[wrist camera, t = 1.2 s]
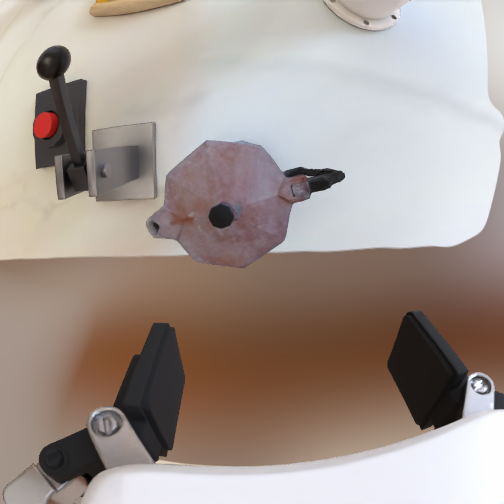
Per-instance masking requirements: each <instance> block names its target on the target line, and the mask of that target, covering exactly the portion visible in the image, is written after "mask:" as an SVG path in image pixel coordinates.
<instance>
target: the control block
mask: <svg viewBox="0 0 504 504" xmlns="http://www.w3.org/2000/svg"><path fill="white" fill-rule="evenodd" d="M86 82H87V81H86V80H83V79H79V80H76V81H72V82H69V83H66V87H67V92H68V96H69V100H70V104H71V108H72V112H73V116H74V120H75V124H76V127H77V131H78V134H79V138H80V141H81V144H82V147H83V151H85V98H86ZM43 112H52V113H55V114H56V115H57V111H56V107H55V104H54V100H53V96H52V91H51V89H48V90H45V91H43V92H40V93H37V94H36V106H35V120H36V118H37V117H38V116H39V115H40V114H41V113H43ZM57 117H58V115H57ZM35 120H34V123H35ZM58 120H59V118H58ZM34 123H33V136H34V139H35V159H36V169H38V168H43V167H49V166H54V165H55V156H59V155H65V154H70V153H69V150H68V147H67V144H66V141H65V138H64V135H63V132H62V129H61V125H60V122H59V124H58V129H57V131H56V132H55V134H54V135H53V136H51V137H48V138H38V137H37V136H36V135H35V133H34Z"/></svg>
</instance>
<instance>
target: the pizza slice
mask: <svg viewBox="0 0 504 504" xmlns="http://www.w3.org/2000/svg"><path fill="white" fill-rule="evenodd" d="M180 1H183V0H96V3H95V4H94V5H93V6H92V7H91V8H90V11H89V12H90V14H91V15H93V16H109V15H120V14H127V13H134V12H139V11H145V10H149V9H153V8H157V7H161V6H165V5H169V4H173V3H177V2H180Z"/></svg>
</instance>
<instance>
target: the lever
mask: <svg viewBox="0 0 504 504" xmlns="http://www.w3.org/2000/svg"><path fill="white" fill-rule="evenodd" d="M70 62H71V55H70V52H69V50H68V49H67V48H65V47H64V46H52V47H50V48H48V49H47V50H45V51H44V52H43V53H42V54H41V56H40V57H39V59H38V61H37V66H36V69H37V73H38V75H39V76H40V77H41V78H42V79H44V80H49V83H50V87H51V91H52V96H53V100H54V104H55V107H56V111H57V115H58V118H59V122H60V125H61V129H62V132H63V135H64V138H65V141H66V144H67V147H68V150H69V153H70V156H71V159H72V163H71V164H70V166H69V167H68V168H67V170H66V171H67V173H68V176H69V178H70V181H71V183H72V186H73V188H74V190H75V192H77V191H88V178H87V162H86V155H85V154H84V151H83V147H82V144H81V141H80V138H79V134H78V131H77V127H76V124H75V120H74V116H73V112H72V108H71V104H70V100H69V96H68V92H67V87H66V83H65V78H64V73H65V72H66V71H67V69H68V68H69V65H70Z"/></svg>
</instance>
